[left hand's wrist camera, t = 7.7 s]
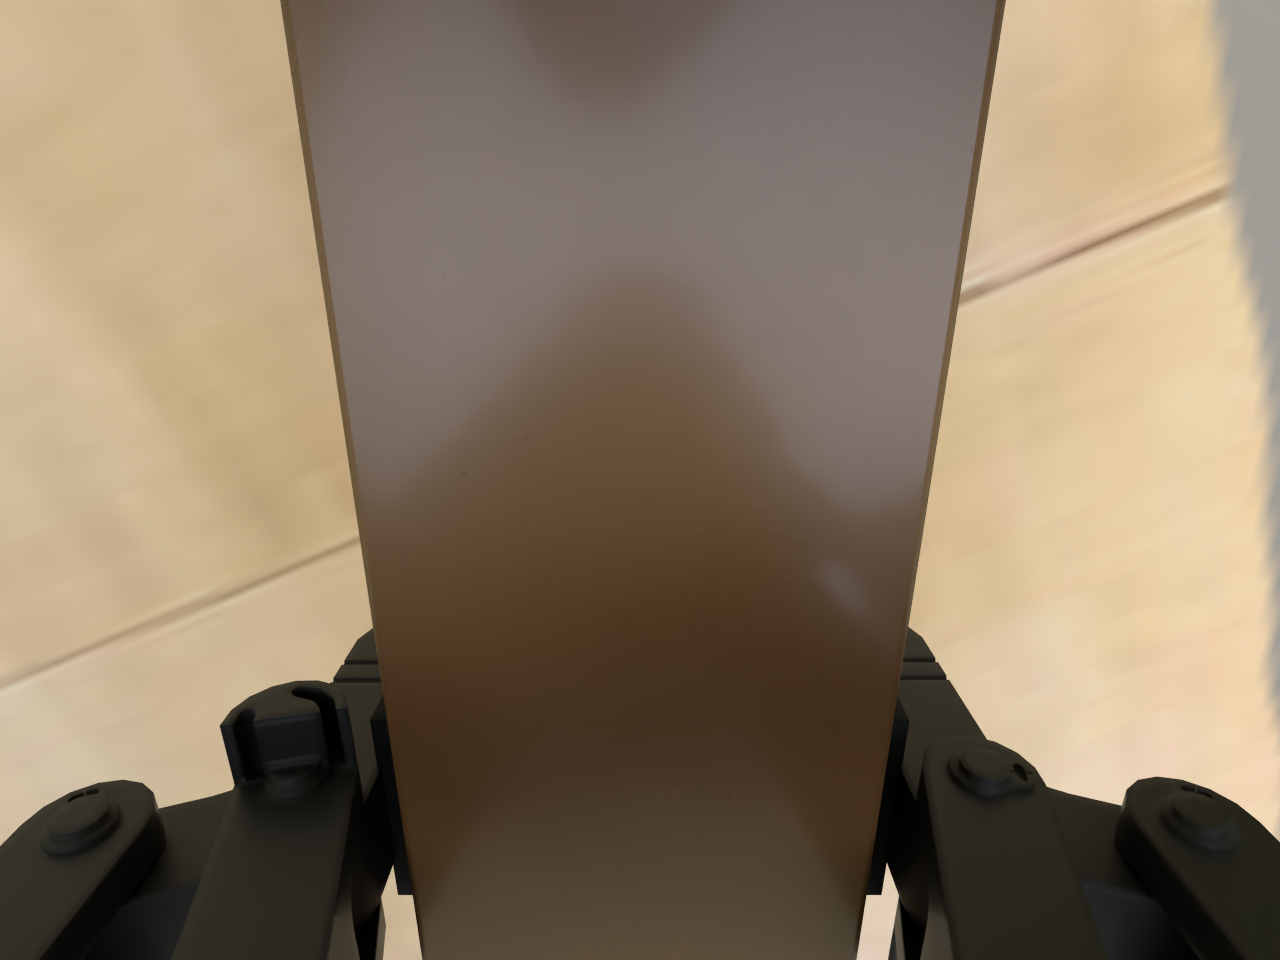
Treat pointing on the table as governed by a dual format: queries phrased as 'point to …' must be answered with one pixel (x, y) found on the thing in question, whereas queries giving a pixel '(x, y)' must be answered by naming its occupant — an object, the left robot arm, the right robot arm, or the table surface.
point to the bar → (641, 439)
